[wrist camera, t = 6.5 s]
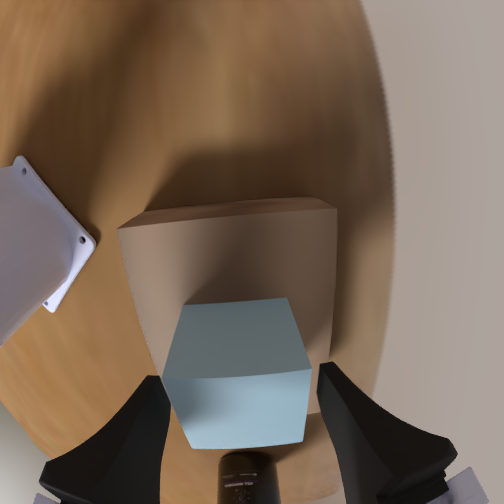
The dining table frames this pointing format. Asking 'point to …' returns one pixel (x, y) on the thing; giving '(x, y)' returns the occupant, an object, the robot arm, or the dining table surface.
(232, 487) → the supplement bottle
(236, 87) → the dining table surface
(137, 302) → the walnut block
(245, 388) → the blue cube
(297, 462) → the dining table surface
